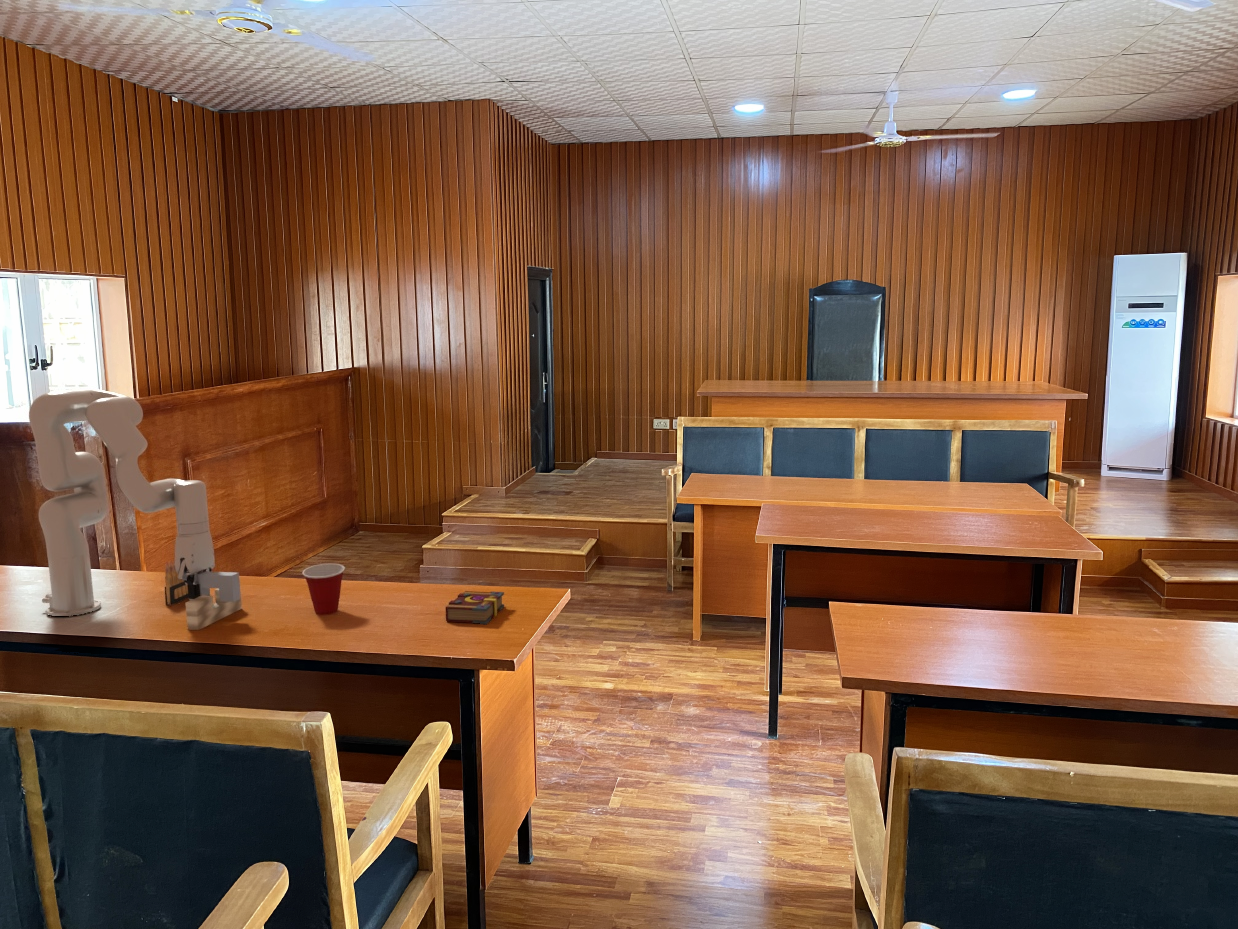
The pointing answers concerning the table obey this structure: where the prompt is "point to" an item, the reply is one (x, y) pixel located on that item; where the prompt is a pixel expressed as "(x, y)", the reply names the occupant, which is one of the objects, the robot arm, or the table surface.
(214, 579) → the grey block
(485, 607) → the decorative book
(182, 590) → the ammunition clip
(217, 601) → the birch block
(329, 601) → the plastic cup
